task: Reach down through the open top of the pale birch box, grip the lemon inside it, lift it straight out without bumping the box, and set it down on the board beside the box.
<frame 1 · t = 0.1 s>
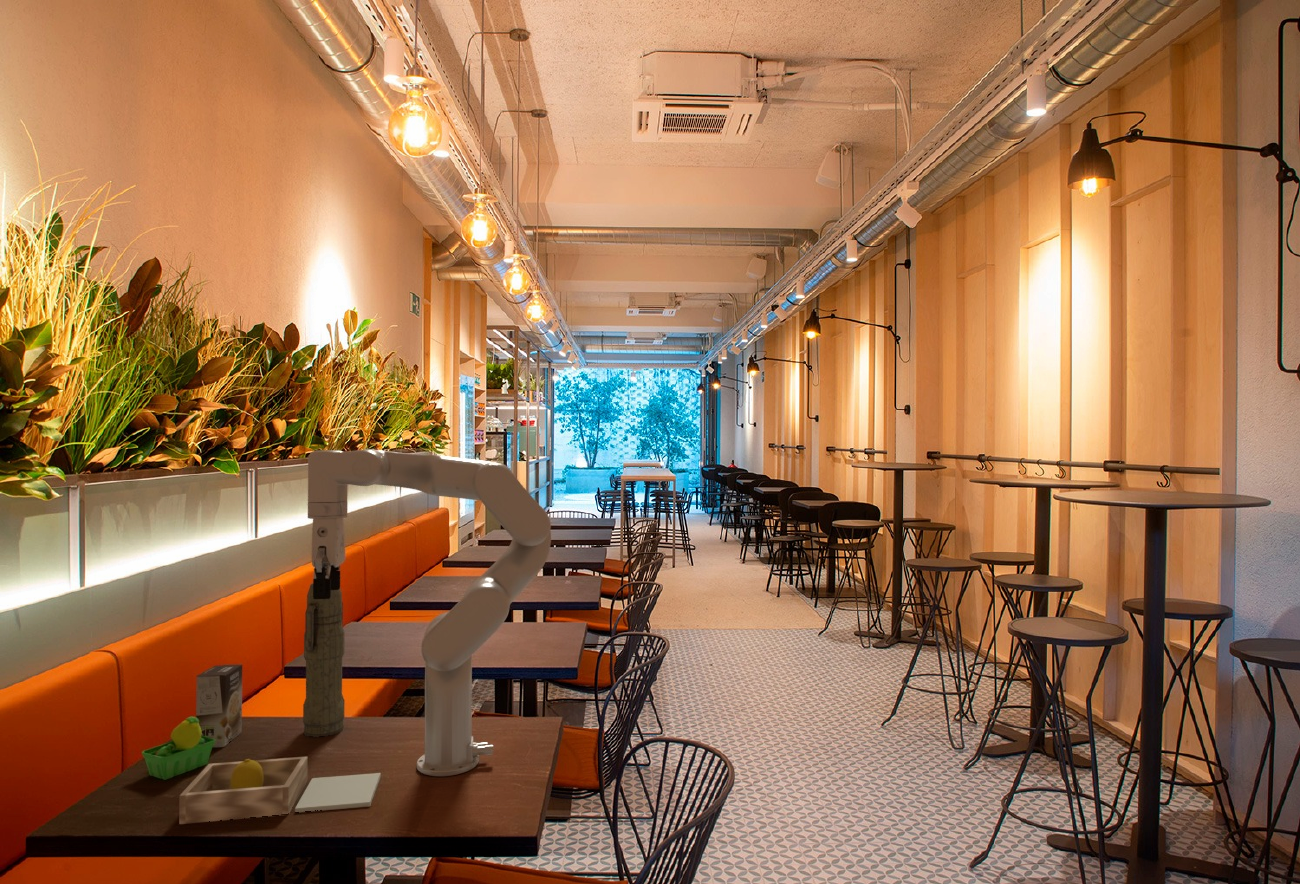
hand: (327, 594, 156), 37 cm above the table, tool pointing down, fingers open, 9 cm apart
lemon: (247, 802, 143), resting in access box
coffee box: (219, 741, 174), on the table
access box: (247, 801, 143), on the table
fruit basket: (181, 771, 157), on the table
thermos: (324, 731, 180), on the table
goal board: (340, 793, 146), on the table
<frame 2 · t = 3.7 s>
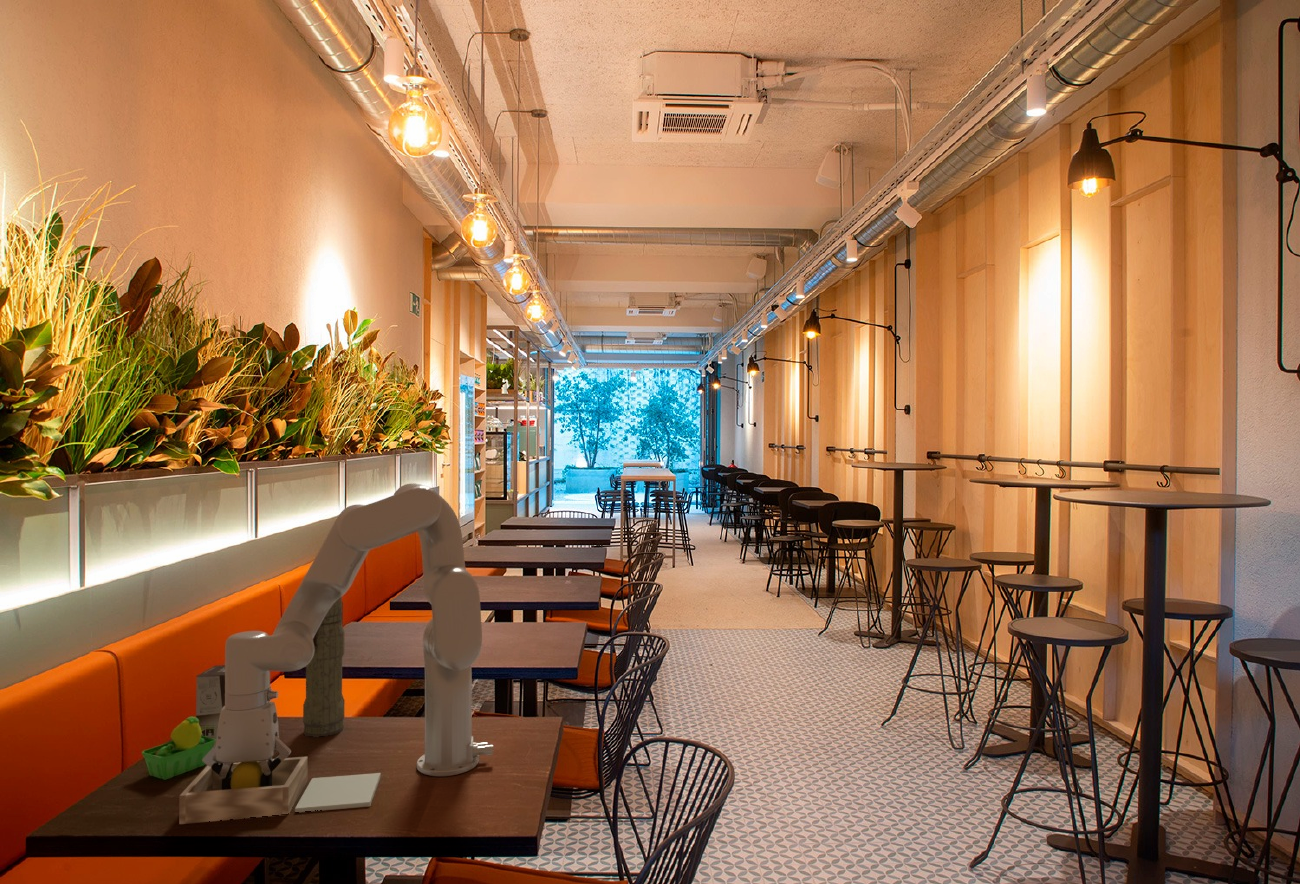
hand: (247, 794, 143), 1 cm above the table, tool pointing down, fingers closed on lemon, 5 cm apart
lemon: (247, 802, 143), resting in access box, touching gripper
everything else where it was.
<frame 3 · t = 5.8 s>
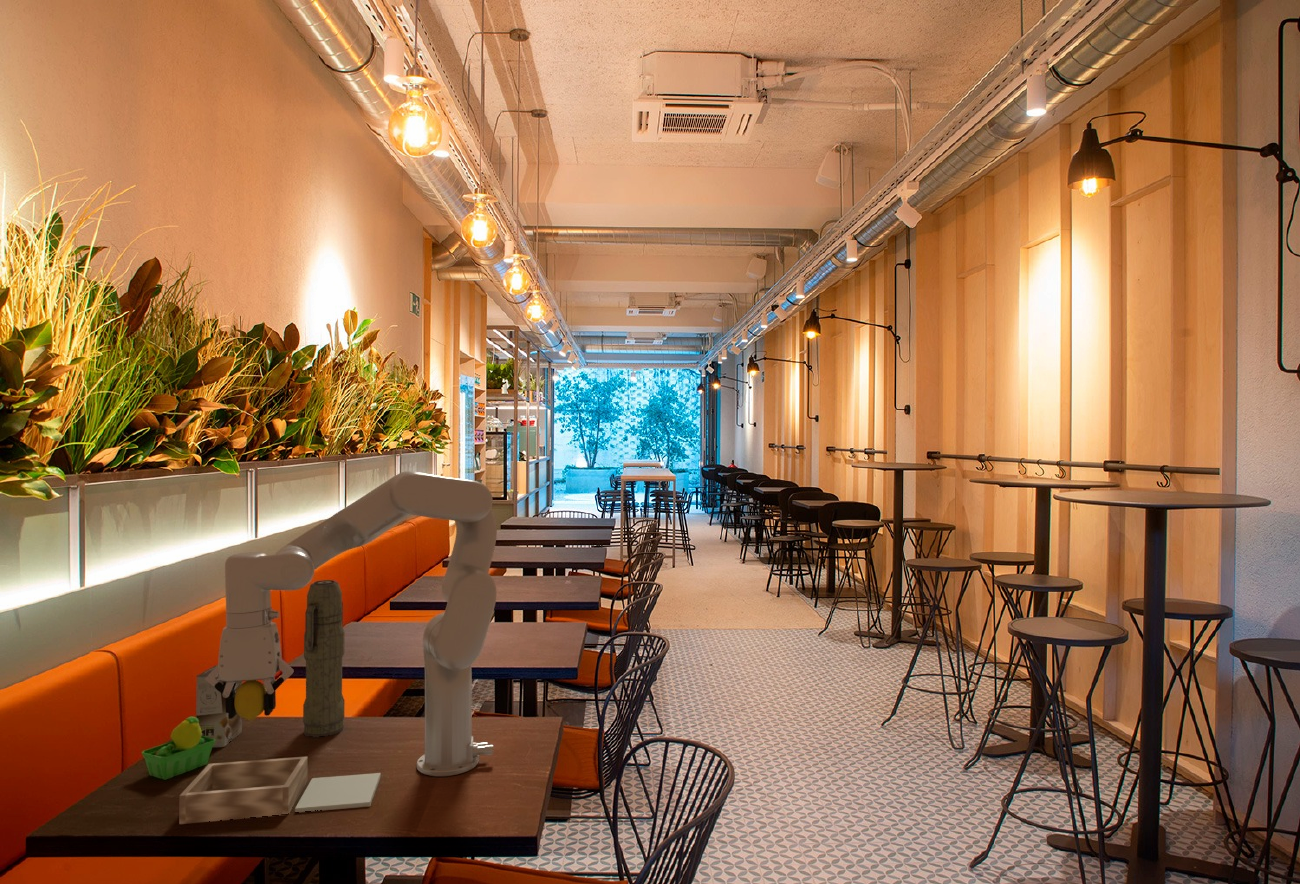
hand: (251, 713, 144), 16 cm above the table, tool pointing down, fingers closed on lemon, 5 cm apart
lemon: (251, 722, 144), point 15 cm above the table, touching gripper
everything else where it was.
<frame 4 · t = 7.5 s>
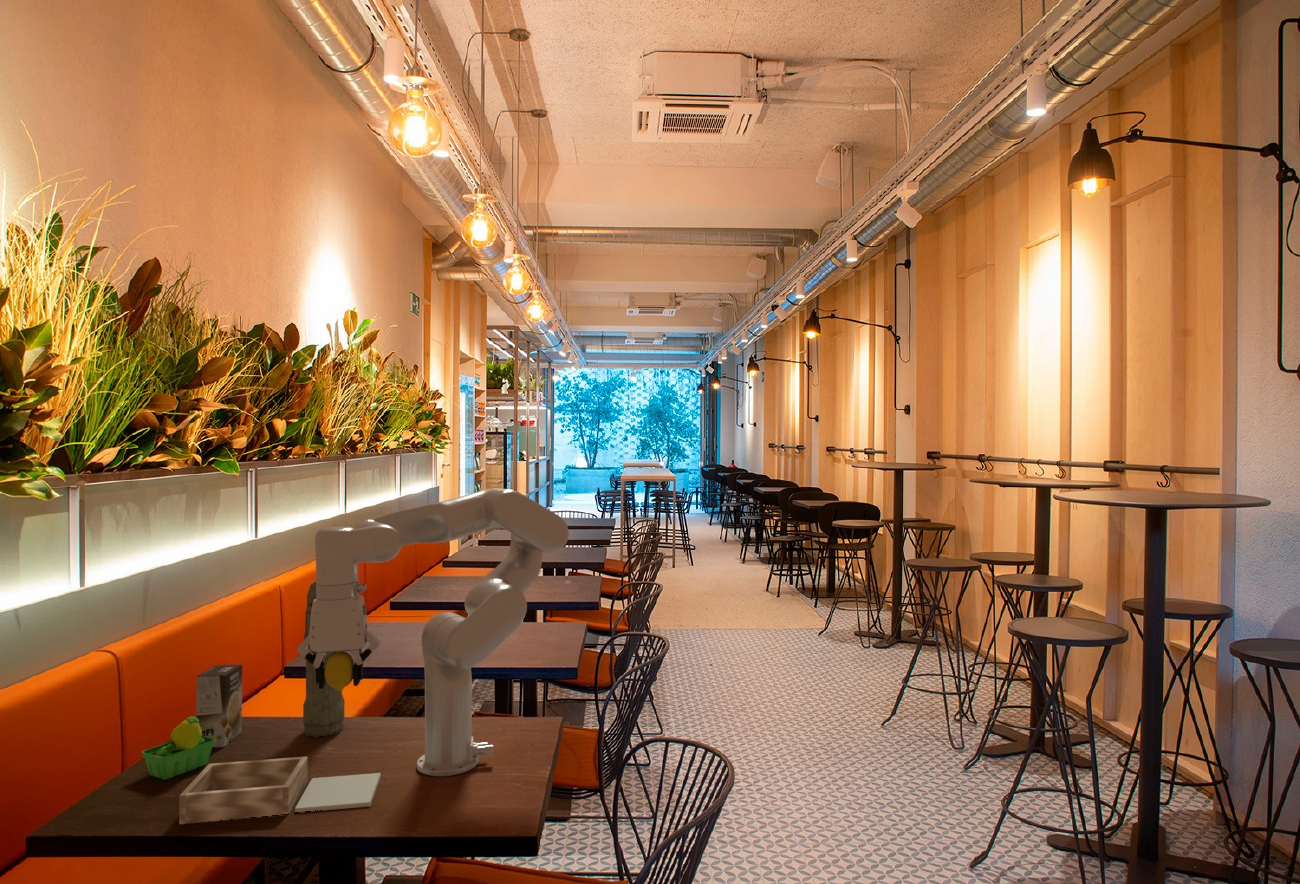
hand: (339, 684, 147), 21 cm above the table, tool pointing down, fingers closed on lemon, 5 cm apart
lemon: (340, 692, 147), point 19 cm above the table, touching gripper
everything else where it was.
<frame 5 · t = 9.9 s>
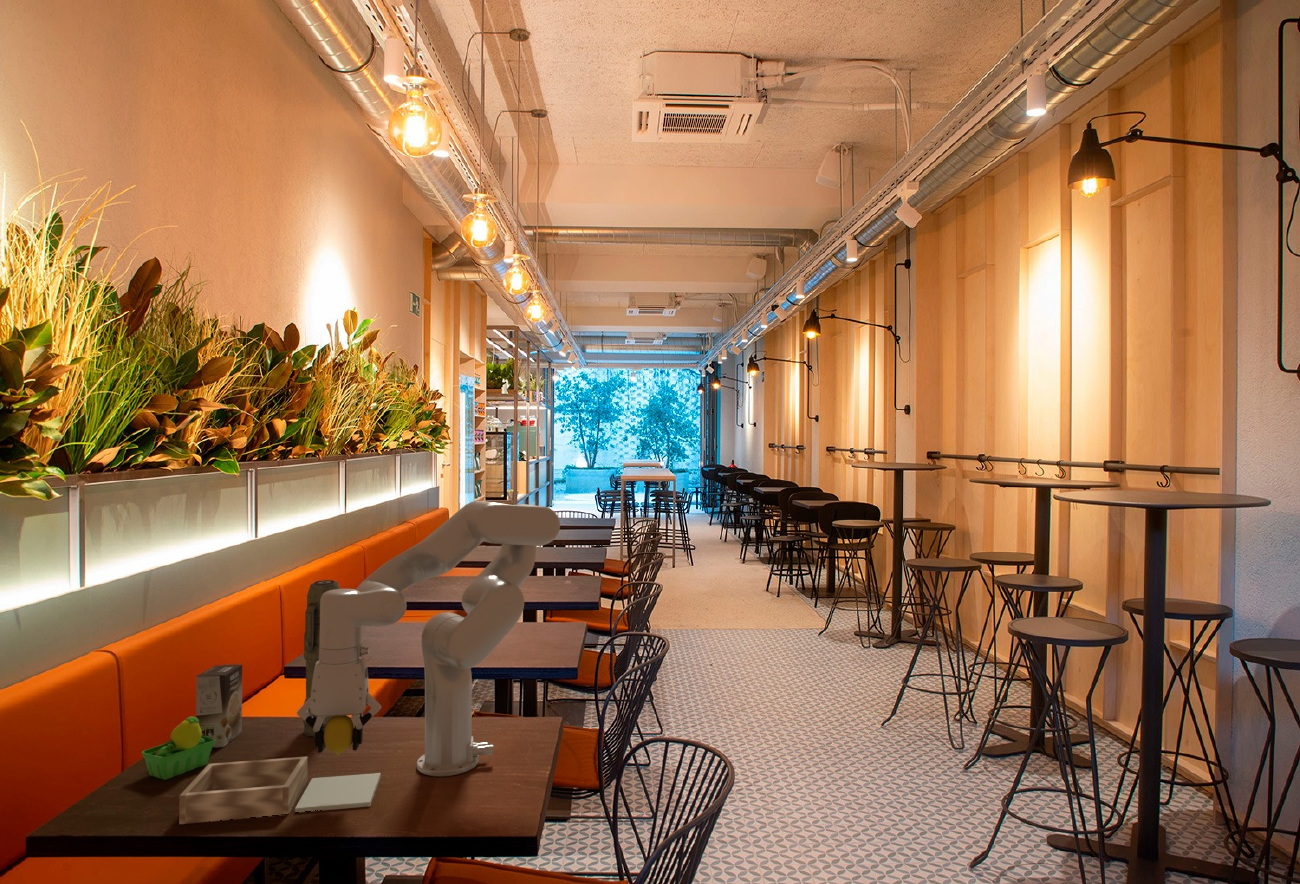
hand: (338, 748, 146), 9 cm above the table, tool pointing down, fingers closed on lemon, 5 cm apart
lemon: (338, 755, 146), point 7 cm above the table, touching gripper
everything else where it was.
when the fingers open (3 cm above the table, at t = 11.5 s): lemon drops 1 cm, resting on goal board.
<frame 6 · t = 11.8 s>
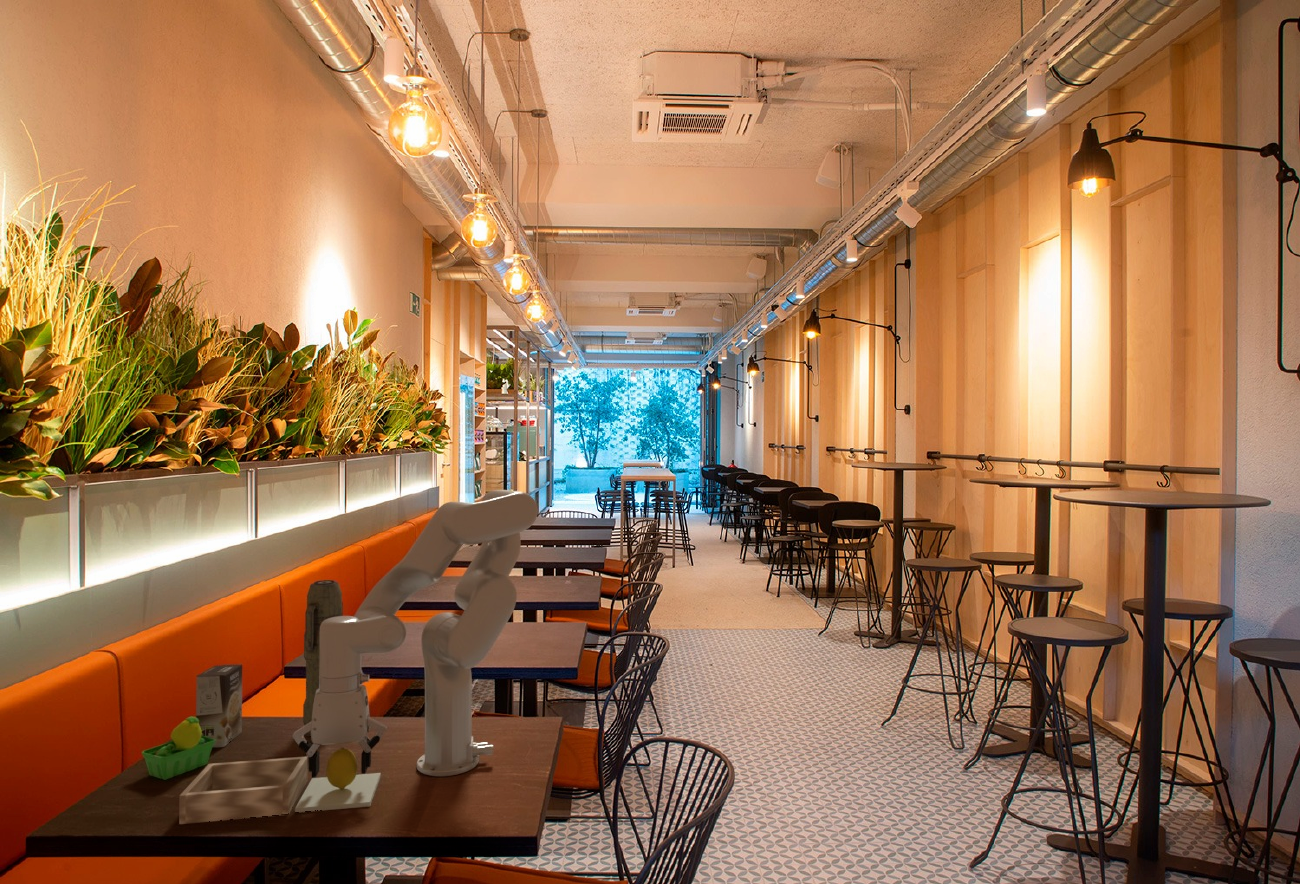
hand: (340, 772, 147), 4 cm above the table, tool pointing down, fingers open, 8 cm apart
lemon: (342, 790, 147), point 1 cm above the table, touching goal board
everything else where it was.
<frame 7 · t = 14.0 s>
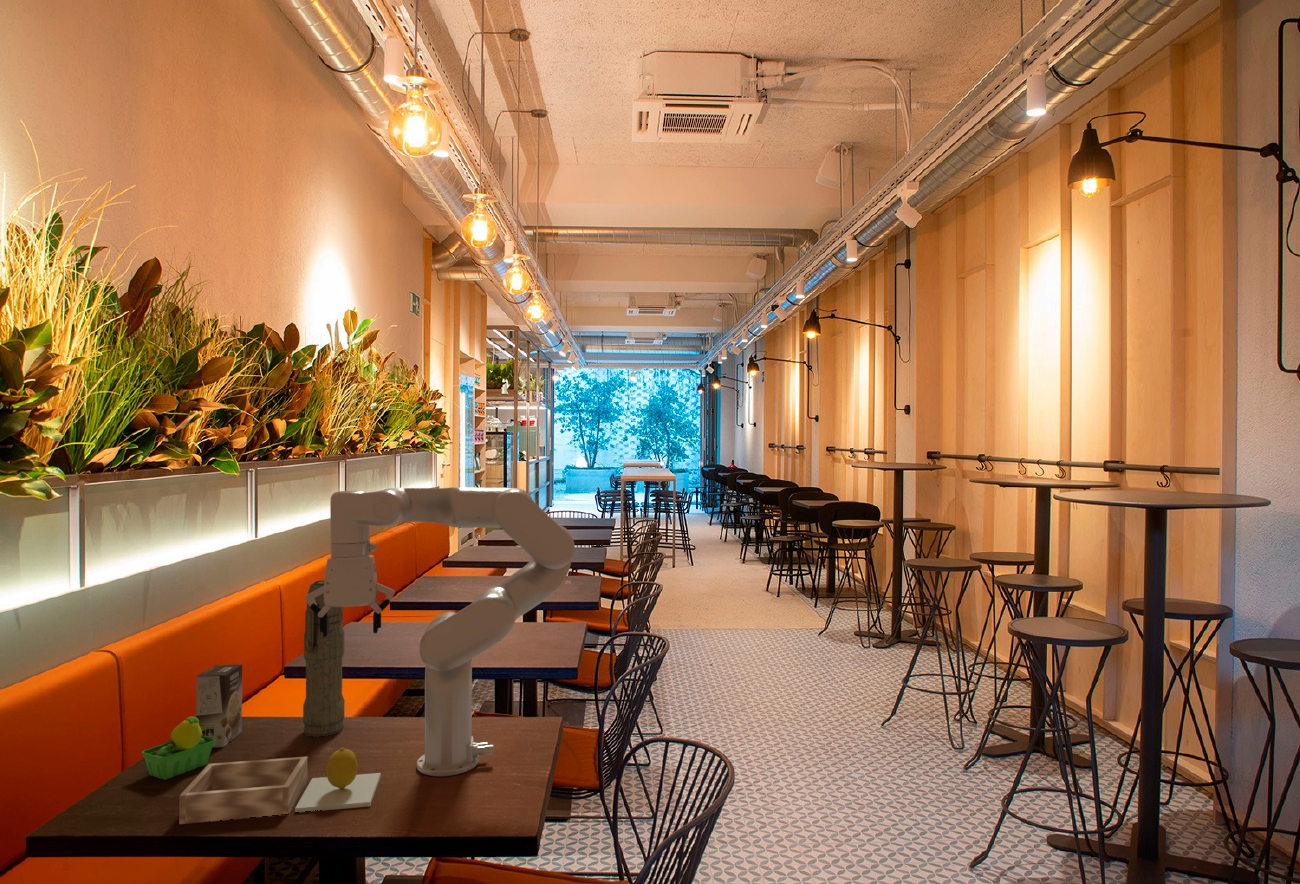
hand: (351, 633, 157), 28 cm above the table, tool pointing down, fingers open, 9 cm apart
nothing on the table moved.
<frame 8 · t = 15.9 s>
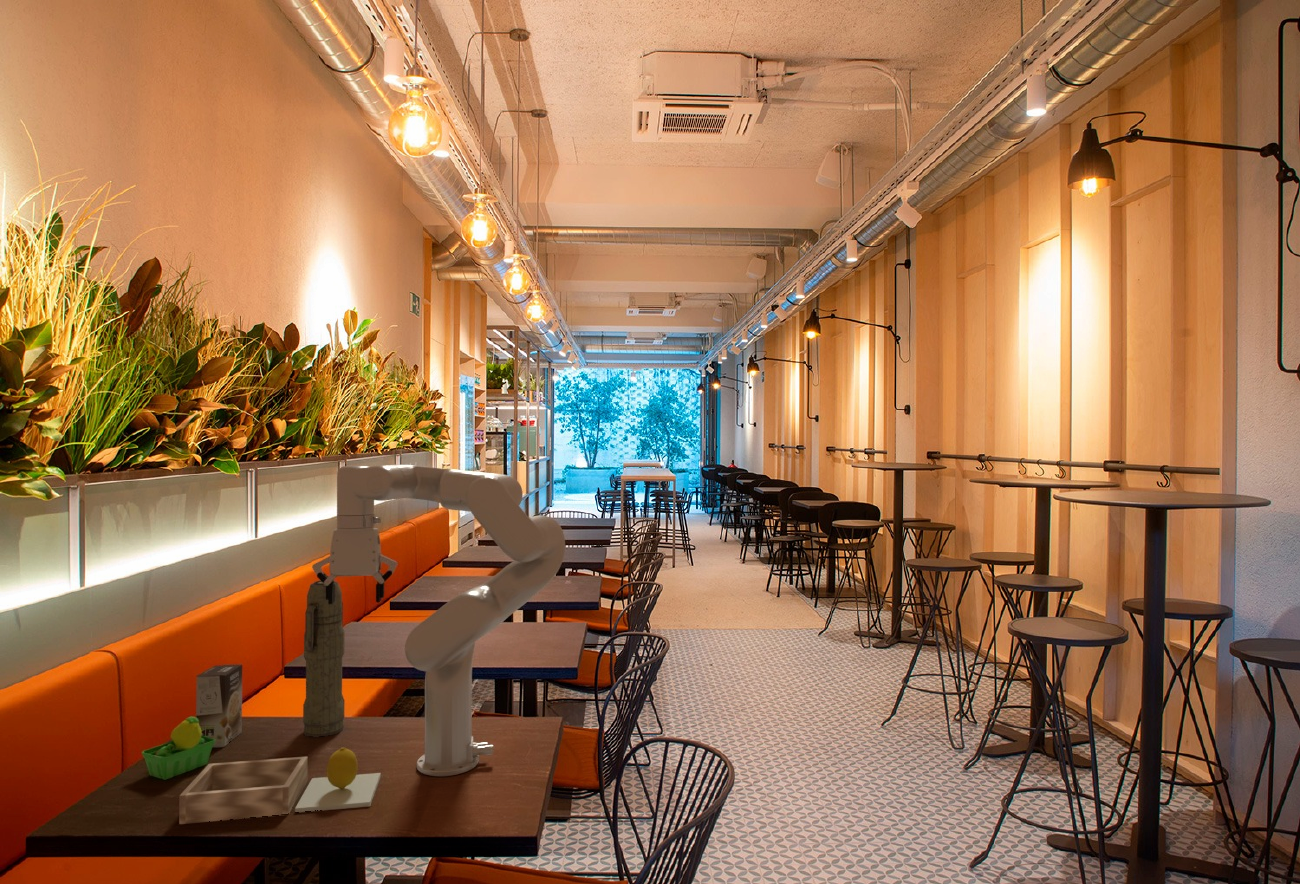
hand: (355, 602, 164), 33 cm above the table, tool pointing down, fingers open, 9 cm apart
nothing on the table moved.
at the end: lemon inside the target area on the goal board (0.4 cm from its centre), point 0.6 cm above the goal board's base; the gripper is holding nothing; access box moved 0.0 cm from its start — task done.
